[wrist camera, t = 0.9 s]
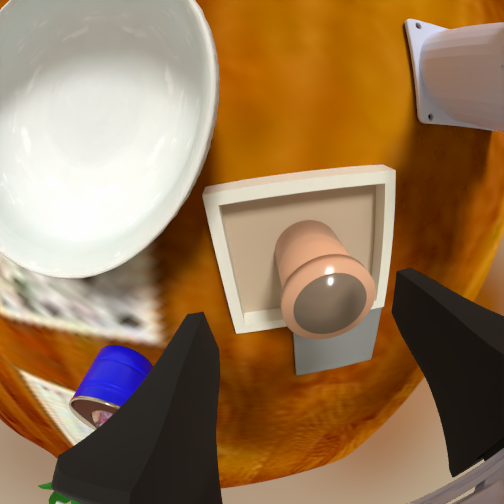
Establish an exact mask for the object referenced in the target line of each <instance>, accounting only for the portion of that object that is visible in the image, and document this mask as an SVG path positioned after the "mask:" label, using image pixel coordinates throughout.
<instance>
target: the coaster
mask: <svg viewBox="0 0 504 504" xmlns="http://www.w3.org/2000/svg"><path fill="white" fill-rule="evenodd" d="M381 308H382V307H380V308H376V309H372V310H370V311H369V313H368V314H367V316H366V317H365V318H364V319H363V320H362V321H361V322H360V323H359V324H358V325H357V326H356V327H354V328H353V329H351V330H350V331H348V332H346V333H344V334H342V335H339V336H336V337H333V338H329V339H319V340H317V339H308V338H304V337H301V336H299V335H297V334H295V333H294V332H293V343H294V357H295V371H296V376H297V375H303V374H308V373H313V372H318V371H323V370H328V369H333V368H337V367H342V366H346V365H350V364H354V363H358V362H362V361H366V360H370V359H371V357H372V353H373V348H374V344H375V339H376V334H377V329H378V324H379V319H380V313H381Z"/></svg>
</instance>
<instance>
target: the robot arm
mask: <svg viewBox="0 0 504 504" xmlns="http://www.w3.org/2000/svg"><path fill="white" fill-rule="evenodd" d="M415 24H416V25H417V26H418V28H417V27H416V25H415ZM405 28H406V33H407V37H408V42H409V48H410V54H411V60H412V66H413V73H414V81H415V90H416V101H417V114H418V119H419V121H420V122H421V123H426V124H440V125H451V126H461V127H470V128H477V129H484V130H491V131H496V130H497V131H501V132H504V22H501V23H490V24H481V25H474V26H467V27H461V28H455V29H450V30H449V29H446V28H443V27H439V26H436V25H433V24H429V23H426V22H422V21H418V20H414V19H407V20H405ZM429 114H430V119H429V118H428V115H429ZM392 314H393V317H394V319H395V322H396V324H397V326H398V329H399V331H400V333H401V335H402V337H403V339H404V340H405V342H406V344H407V345H408V347H409V349H410V351H411V352H412V354H413V356H414V358H415V359H416V361H417V363H418V365H419V367H420V368H421V370H422V372H423V374H424V376H425V378H426V380H427V382H428V384H429V387H430V389H431V392H432V395H433V397H434V400H435V403H436V406H437V409H438V412H439V416H440V419H441V423H442V427H443V431H444V436H445V440H446V446H447V452H448V459H449V469H450V472H451V475H452V477H455V476H457V475H459V474H460V473H462V472H464V471H465V470H467V469H469V468H470V467H472V466H473V465H475V464H476V463H478V462H480V461H481V460H483V459H484V461H485V462H484V463H482V464H481V465H479V466H478V467H476V468H475V469H473V470H472V471H470V472H468V473H467V474H465V475H463V476H462V477H460V478H458V479H457V480H455V481H453V482H451V483H449V484H447V485H446V486H444V487H442V488H440V489H438V490H436V491H434V492H432V493H430V494H428V495H426V496H424V497H421V498H419V499H417V500H415V501H412V502H410V503H408V504H446V503H448V502H449V501H451V500H453V499H455V498H456V497H458V496H460V495H462V494H463V493H465V492H467V491H468V490H470V489H472V488H473V487H475V486H476V485H477V486H476V487H475V491H474V492H473V493H472V494H470V495H468V496H466V497H464V498H462V499H460V500H458V501H456V502H454V503H453V504H504V316H502V315H500V314H497V313H495V312H492V311H490V310H488V309H486V308H484V307H482V306H480V305H477V304H476V303H474V302H472V301H470V300H468V299H466V298H464V297H462V296H460V295H459V294H457V293H455V292H453V291H452V290H450V289H448V288H446V287H445V286H443V285H441V284H439V283H438V282H436V281H434V280H432V279H431V278H429V277H427V276H425V275H423V274H422V273H420V272H418V271H416V270H414V269H412V268H407V269H404V270H400V271H397V274H396V283H395V292H394V299H393V306H392ZM219 381H220V361H219V349H218V346H217V344H216V342H215V339H214V337H213V334H212V332H211V330H210V327H209V325H208V322H207V320H206V317H205V315H204V312H199V313H193V314H187V316H186V317H185V319H184V320H183V322H182V323H181V325H180V327H179V328H178V330H177V331H176V333H175V335H174V336H173V338H172V340H171V341H170V343H169V344H168V346H167V347H166V349H165V351H164V352H163V354H162V355H161V357H160V358H159V360H158V361H157V363H156V364H155V365H154V367H153V368H152V370H151V371H150V372H149V374H148V375H147V377H146V378H145V379H144V381H143V382H142V383H141V384H140V386H139V387H138V388H137V389H136V391H135V392H134V393H133V394H132V395H131V396H130V397H129V399H128V400H127V401H126V402H125V403H124V404H123V405H122V406H121V407H120V408H119V409H118V410H117V411H116V412H115V413H114V414H113V415H112V416H111V417H110V418H109V419H108V420H107V421H106V422H104V423H103V424H102V425H101V426H100V427H99V428H97V429H96V430H95V431H94V432H93V433H91V434H90V435H89V436H87V437H86V438H85V439H83V440H82V441H81V442H79V443H78V444H76V445H75V446H73V447H72V448H70V449H68V450H67V451H65V452H64V453H62V454H60V455H59V456H58V460H57V464H56V468H55V472H54V475H53V480H52V484H51V488H52V489H53V490H54V491H56V492H57V493H59V494H61V495H63V496H65V497H67V498H69V499H72V500H74V501H76V502H78V503H81V504H223V503H222V497H221V489H220V481H219V472H218V461H217V445H216V420H217V407H218V394H219ZM56 504H64V503H62V502H60V501H56Z"/></svg>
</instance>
